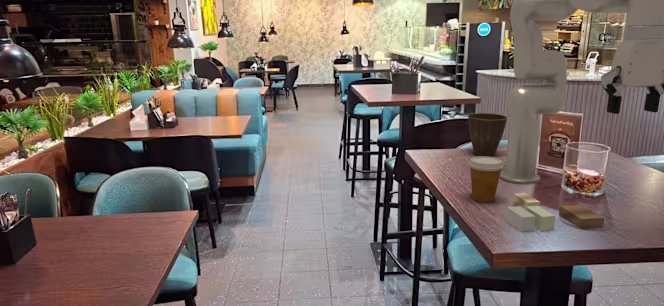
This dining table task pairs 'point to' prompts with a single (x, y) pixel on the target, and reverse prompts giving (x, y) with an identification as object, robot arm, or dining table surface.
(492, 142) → the plant pot
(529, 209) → the sage brick
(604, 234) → the dining table surface
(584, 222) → the walnut base
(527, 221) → the grey brick
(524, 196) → the beech brick
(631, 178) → the dining table surface
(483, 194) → the disposable coffee cup
